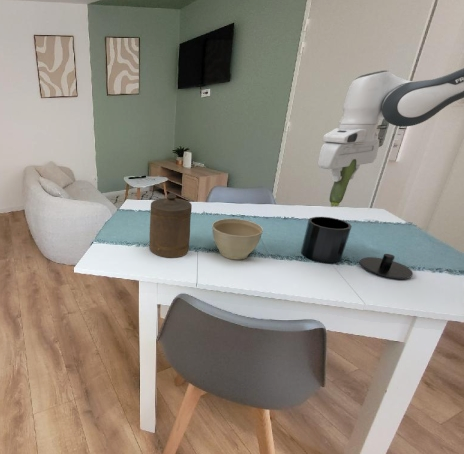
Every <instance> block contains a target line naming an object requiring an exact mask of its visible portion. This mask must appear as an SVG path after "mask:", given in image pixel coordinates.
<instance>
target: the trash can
mask: <svg viewBox="0 0 464 454" xmlns="http://www.w3.org/2000/svg"><path fill="white" fill-rule="evenodd" d="M351 231H352V225H351V224H350V222H348V221H345V220H342V219H339V218H335V217H330V216H313V217H310V218H309V219H308V220H307V225H306V229H305V232H304V236H303V240H302V245H301V248H300V254H301V255H302V257H304V258H306V259H308V260H310V261H312V262H315V263H318V264H319V263H320V264H325V265H335V264H338V263H340V262H341V260H342V258H343V255H344V253H345V249H346V247H347V242H348V239H349V236H350V233H351Z"/></svg>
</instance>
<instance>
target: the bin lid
mask: <svg viewBox="0 0 464 454" xmlns="http://www.w3.org/2000/svg"><path fill="white" fill-rule="evenodd" d="M394 259H395V255H393V254H392V253H391V254H390V253H384V254H383V256H382V257H376V256H375V257H374V256H366V257H362V258H360V259H359V261H358V263H359V266H361V268H363V269H364V270H366V271H368V272H371V273H373V274H374V275H378V276H380V277H384V278H390V279H397V280H405V279H410V278H412V276H413V274H414V272H413V271H412V270H411V268H409V267H407V266H406V265H404V264H403V263H400V262H397V261H394Z"/></svg>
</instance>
